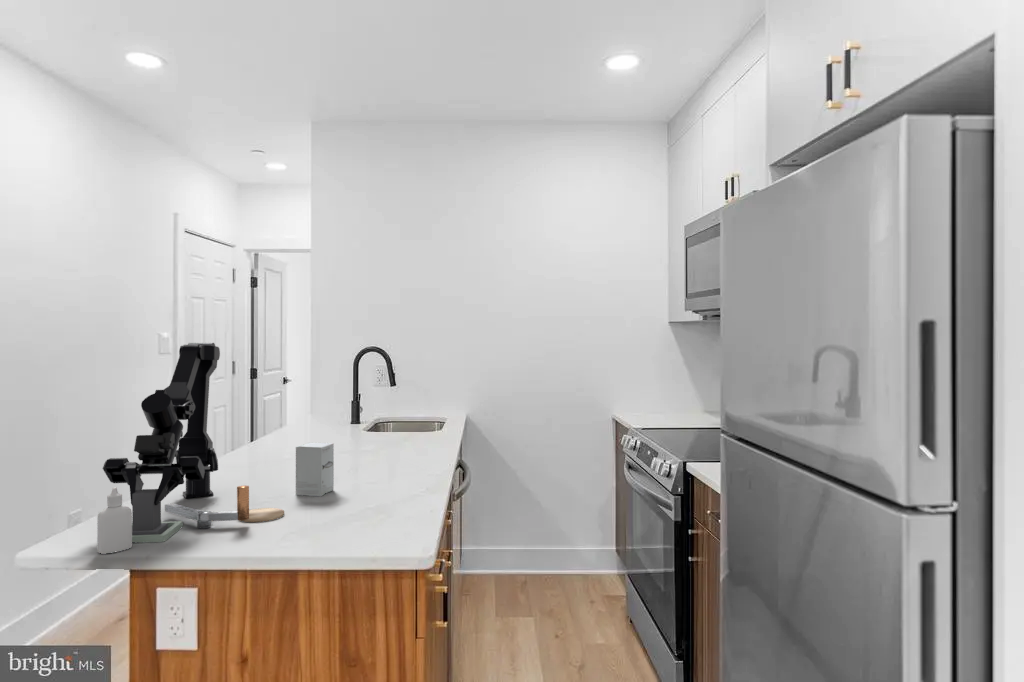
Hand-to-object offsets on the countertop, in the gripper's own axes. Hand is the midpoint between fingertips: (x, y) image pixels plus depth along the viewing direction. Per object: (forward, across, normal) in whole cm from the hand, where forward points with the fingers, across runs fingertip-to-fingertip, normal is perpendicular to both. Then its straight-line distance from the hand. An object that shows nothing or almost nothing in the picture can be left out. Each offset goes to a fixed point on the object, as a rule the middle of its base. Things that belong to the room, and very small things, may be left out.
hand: (144, 504), depth 137 cm
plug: (+4, 0, +6) cm, 7 cm away
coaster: (-4, +20, +14) cm, 25 cm away
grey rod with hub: (-2, +9, +11) cm, 15 cm away
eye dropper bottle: (+11, -2, -1) cm, 11 cm away
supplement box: (-20, +29, +29) cm, 45 cm away
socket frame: (+4, 0, +6) cm, 7 cm away
